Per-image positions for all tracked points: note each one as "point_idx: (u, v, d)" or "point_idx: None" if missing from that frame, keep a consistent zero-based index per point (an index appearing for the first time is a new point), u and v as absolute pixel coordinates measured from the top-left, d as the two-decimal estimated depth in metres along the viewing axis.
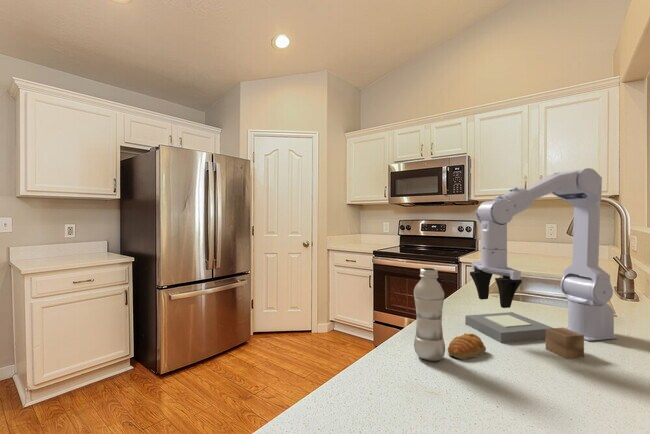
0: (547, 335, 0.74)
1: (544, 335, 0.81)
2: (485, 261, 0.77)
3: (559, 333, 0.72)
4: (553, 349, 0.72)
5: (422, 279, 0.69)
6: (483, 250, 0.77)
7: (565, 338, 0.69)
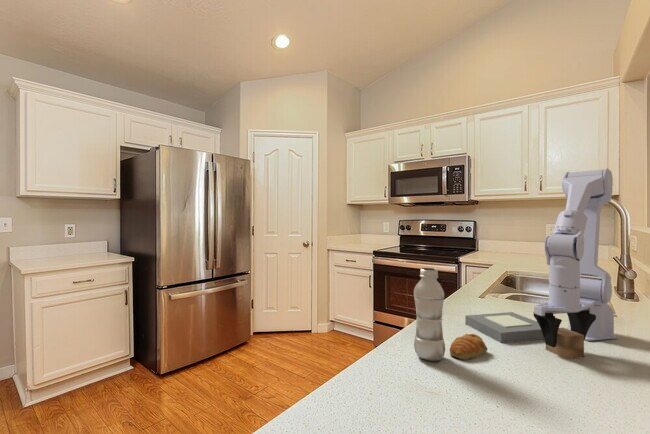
0: None
1: None
2: None
3: (559, 333, 0.72)
4: (553, 349, 0.72)
5: (422, 279, 0.69)
6: None
7: (565, 338, 0.69)
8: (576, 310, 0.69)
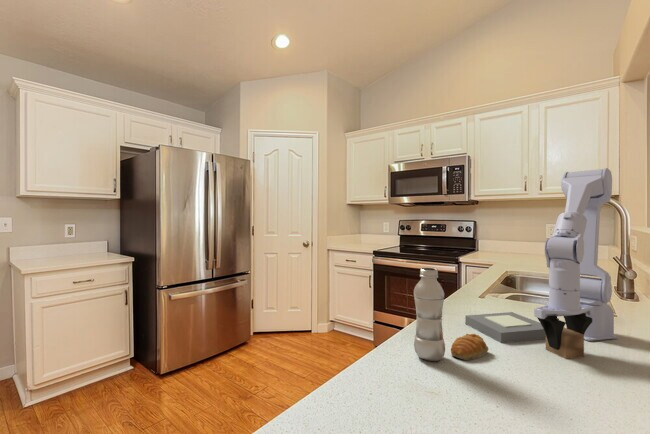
0: None
1: (544, 335, 0.81)
2: None
3: None
4: (553, 349, 0.72)
5: (422, 279, 0.69)
6: None
7: (565, 338, 0.69)
8: (576, 313, 0.69)
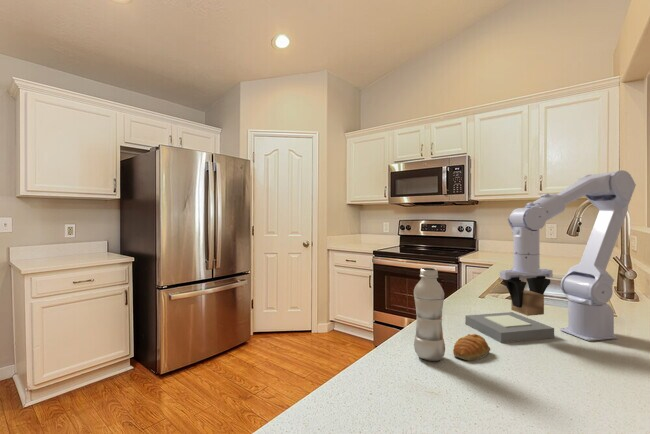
0: None
1: (544, 335, 0.81)
2: None
3: None
4: (517, 308, 0.81)
5: (422, 279, 0.69)
6: None
7: (527, 297, 0.78)
8: (535, 274, 0.78)
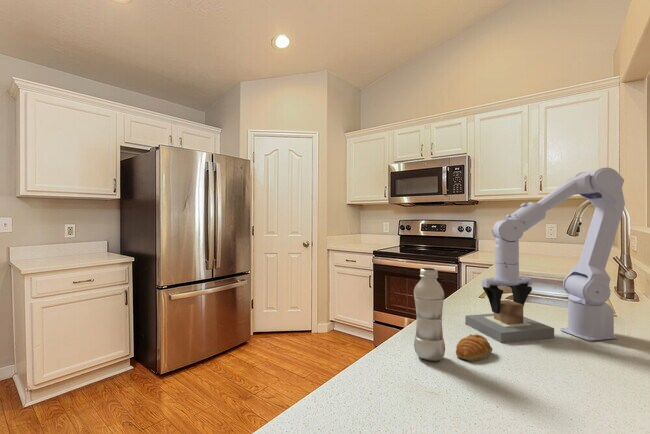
0: None
1: (544, 335, 0.81)
2: None
3: (503, 303, 0.86)
4: (499, 317, 0.86)
5: (422, 279, 0.69)
6: None
7: (507, 307, 0.83)
8: (515, 282, 0.83)
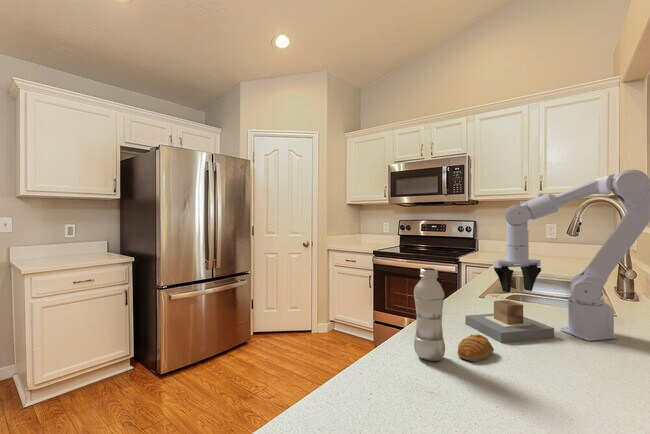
0: (494, 306, 0.88)
1: (544, 335, 0.81)
2: None
3: (503, 303, 0.86)
4: (499, 317, 0.86)
5: (422, 279, 0.69)
6: None
7: (507, 307, 0.83)
8: (525, 263, 0.90)
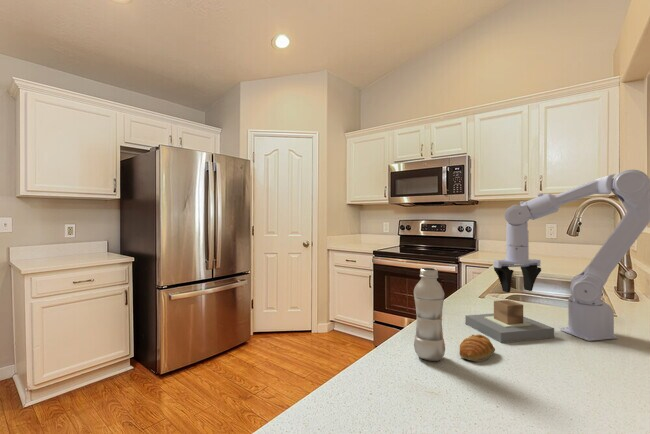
0: (494, 306, 0.88)
1: (544, 335, 0.81)
2: None
3: (503, 303, 0.86)
4: (499, 317, 0.86)
5: (422, 279, 0.69)
6: None
7: (507, 307, 0.83)
8: (525, 263, 0.90)
